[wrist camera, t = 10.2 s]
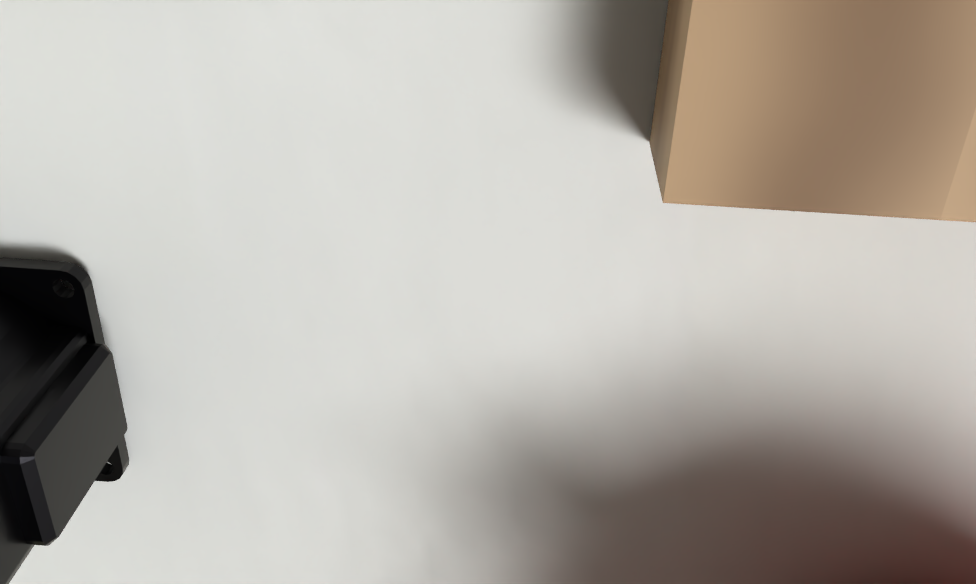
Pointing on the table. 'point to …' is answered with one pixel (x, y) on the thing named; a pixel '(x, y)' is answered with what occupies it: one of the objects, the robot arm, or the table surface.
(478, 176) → the table surface
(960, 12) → the board
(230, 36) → the table surface
